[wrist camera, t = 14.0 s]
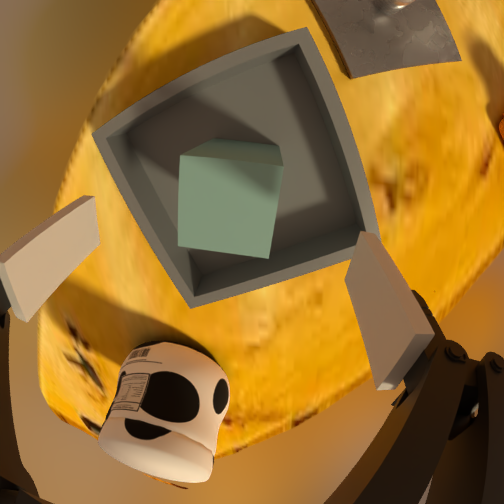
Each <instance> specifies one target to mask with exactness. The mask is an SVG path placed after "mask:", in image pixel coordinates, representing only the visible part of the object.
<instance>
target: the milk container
mask: <svg viewBox="0 0 504 504" xmlns="http://www.w3.org/2000/svg"><path fill="white" fill-rule="evenodd" d="M229 400H230V388H229V381H228V378H227V376H226V374H225V372H224V371H223V369H222V368H221V367H220V365H219V364H218V363H216V362H215V361H214V360H213V359H211V358H210V357H209V356H207V355H206V354H204V353H202V352H200V351H198V350H196V349H193V348H191V347H189V346H186V345H182V344H178V343H174V342H169V341H151V342H147V343H144V344H141V345H139V346H138V347H136V348H135V349H133V350H132V351H131V353H130V354H129V355H128V356H127V358H126V359H125V361H124V362H123V364H122V366H121V369H120V372H119V377H118V385H117V392H116V395H115V398H114V400H113V402H112V404H111V407H110V409H109V411H108V413H107V415H106V419H105V422H104V423H103V425H102V428H101V431H100V435H99V439H98V443H99V446H100V448H101V449H102V450H104V451H105V452H106V453H107V454H108V455H110V456H111V457H113V458H115V459H116V460H118V461H119V462H122V463H124V464H126V465H128V466H130V467H132V468H134V469H137V470H139V471H142V472H145V473H148V474H150V475H154V476H157V477H161V478H165V479H169V480H174V481H180V482H192V483H196V482H205V481H206V480H208V479H209V477H210V475H211V472H212V468H213V463H214V455H215V452H216V444H217V436H218V430H219V426H220V424H221V422H222V420H223V418H224V416H225V414H226V412H227V409H228V406H229Z"/></svg>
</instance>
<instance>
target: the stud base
mask: <svg viewBox="0 0 504 504" xmlns="http://www.w3.org/2000/svg"><path fill="white" fill-rule="evenodd" d="M311 1H312V3H313V4H314V6H315V8H316V10H317V11H318V13H319V15H320V17H321V19H322V20H323V22H324V24H325V26H326V28H327V30H328V32H329V34H330V36H331V38H332V40H333V42H334V44H335V46H336V48H337V50H338V52H339V55H340V57H341V59H342V61H343V64H344V66H345V68H346V70H347V73H348V75H349V78H350V79H354V78H358V77H362V76H367V75H371V74H376V73H380V72H385V71H390V70H396V69H401V68H407V67H413V66H420V65H427V64H435V63H445V62H456V61H462V60H461V57H460V54H459V52H458V49H457V46H456V44H455V41H454V39H453V37H452V34H451V32H450V30H449V27H448V25H447V23H446V21H445V19H444V17H443V15H442V12H441V10H440V9H439V7H438V5H437V3H436V1H435V0H311Z"/></svg>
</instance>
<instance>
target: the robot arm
mask: <svg viewBox="0 0 504 504" xmlns="http://www.w3.org/2000/svg"><path fill="white" fill-rule="evenodd" d="M99 245H100V238H99V231H98V223H97V215H96V205H95V196H82V197H80V198H79V199H77V200H75V201H74V202H72V203H71V204H69V205H68V206H66V207H64V208H63V209H61V210H60V211H58V212H57V213H55V214H54V215H52V216H51V217H49V218H48V219H46V220H45V221H44V222H42V223H41V224H39V225H38V226H37V227H35V228H34V229H32V230H31V231H30V232H28V233H27V234H26V235H24V236H23V237H22V238H20V239H19V240H18V241H16V242H15V243H14V244H13V245H11V246H10V247H9V248H7V249H6V250H5V251H4V252H3V253H1V254H0V504H53V503H51V502H48V501H46V500H43V499H41V498H40V497H39V495H38V492H37V489H36V486H35V484H34V481H33V480H32V478H31V476H30V475H29V473H28V472H27V471H26V469H25V468H24V466H23V464H22V462H21V459H20V455H19V450H18V445H17V440H16V435H15V429H14V423H13V416H12V407H11V397H10V385H9V327H10V315H9V313H8V311H7V310H8V309H9V308H10V307H12V309H13V311H14V313H15V315H16V317H17V318H19V319H21V320H23V321H25V322H28V321H29V320H30V319H31V317H32V316H33V315H34V314H35V313H36V311H37V310H38V309H39V308H40V307H41V306H42V304H43V303H44V302H45V301H46V300H47V299H48V298H49V296H50V295H51V294H52V293H53V292H54V291H55V290H56V289H57V288H58V286H59V285H60V284H61V283H62V282H63V281H64V280H65V279H66V278H67V277H68V276H69V275H70V274H71V273H72V272H73V270H74V269H75V268H76V267H77V266H78V265H79V264H80V263H81V262H82V261H83V260H84V259H85V258H86V257H87V256H88V255H89V254H90V253H91V252H92V251H93V250H94V249H95V248H96V247H97V246H99ZM345 283H346V286H347V289H348V292H349V295H350V298H351V301H352V304H353V307H354V310H355V314H356V317H357V320H358V324H359V327H360V330H361V334H362V337H363V341H364V344H365V348H366V351H367V355H368V359H369V363H370V366H371V370H372V374H373V378H374V382H375V386H376V390H390V389H391V390H392V389H396V387H397V386H398V384H400V382H401V381H402V380H404V383H405V386H406V388H405V390H404V391H403V392H402V393H401V394H400V395H399V396H398V398H397V399H396V400H395V401H394V402H393V403H392V404H391V405H392V406H394V407H393V409H392V411H391V413H390V414H389V416H388V417H387V419H386V421H385V423H384V424H383V426H382V428H381V429H380V430H379V432H378V434H377V435H376V437H375V438H374V440H373V441H372V443H371V444H370V446H369V447H368V448H367V450H366V451H365V453H364V454H363V456H362V457H361V458H360V460H359V461H358V462H357V464H356V465H355V466H354V468H353V469H352V470H351V472H350V473H349V474H348V476H347V477H346V478H345V479H344V480H343V482H342V483H341V484H340V485H339V487H338V488H337V489H336V490H335V491H334V492H333V494H332V495H331V496H330V497H329V498H328V499H327V500H326V502H325V503H324V504H418V503H419V501H420V499H421V498H422V496H423V494H424V492H425V490H426V488H427V486H428V484H429V482H430V480H431V478H432V476H433V478H432V481H431V486H430V489H429V493H428V497H427V500H426V503H425V504H504V359H503V358H502V357H501V356H500V355H498V354H496V353H494V352H488V353H486V355H485V356H484V357H483V359H482V360H481V361H476V360H473V359H469V357H468V355H467V353H466V351H465V350H464V348H462V346H461V345H459V344H458V343H456V342H454V341H452V340H446V338H445V336H444V334H443V332H442V331H441V329H440V327H439V325H438V323H437V321H436V320H435V318H434V316H432V315H433V314H432V312H431V311H430V309H428V308H429V307H428V306H427V304H426V302H425V300H424V299H423V298H422V297H421V296H420V295H419V294H418V293H417V292H416V291H415V290H411V289H410V288H409V286H408V284H407V283H406V281H405V279H404V278H403V276H402V275H401V273H400V271H399V270H398V268H397V266H396V265H395V263H394V262H393V260H392V259H391V257H390V256H389V254H388V252H387V251H386V249H385V248H384V246H383V245H382V243H381V242H380V240H379V239H378V237H377V236H376V235H375V234H374V233H369V232H364V231H360V234H359V237H358V241H357V244H356V247H355V250H354V253H353V256H352V259H351V262H350V265H349V268H348V271H347V274H346V277H345ZM477 408H478V414H477V416H476V417H475V416H474V411H475V410H476V409H477Z"/></svg>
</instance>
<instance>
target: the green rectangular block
mask: <svg viewBox="0 0 504 504" xmlns="http://www.w3.org/2000/svg"><path fill="white" fill-rule="evenodd" d="M283 169H284V165H283V161H282V156H281V152H280V147H279V146H276V145H269V144H262V143H254V142H246V141H237V140H227V139H216V138H213V139H211V140H209V141H207V142H205V143H203V144H201V145H199V146H197V147H195V148H193V149H191V150H189V151H187V152H185V153H183V154H181V155H180V167H179V192H178V246H181V247H188V248H195V249H202V250H209V251H216V252H224V253H231V254H238V255H245V256H253V257H260V258H267V259H269V254H270V248H271V242H272V236H273V230H274V224H275V218H276V212H277V206H278V200H279V194H280V188H281V182H282V175H283Z"/></svg>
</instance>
